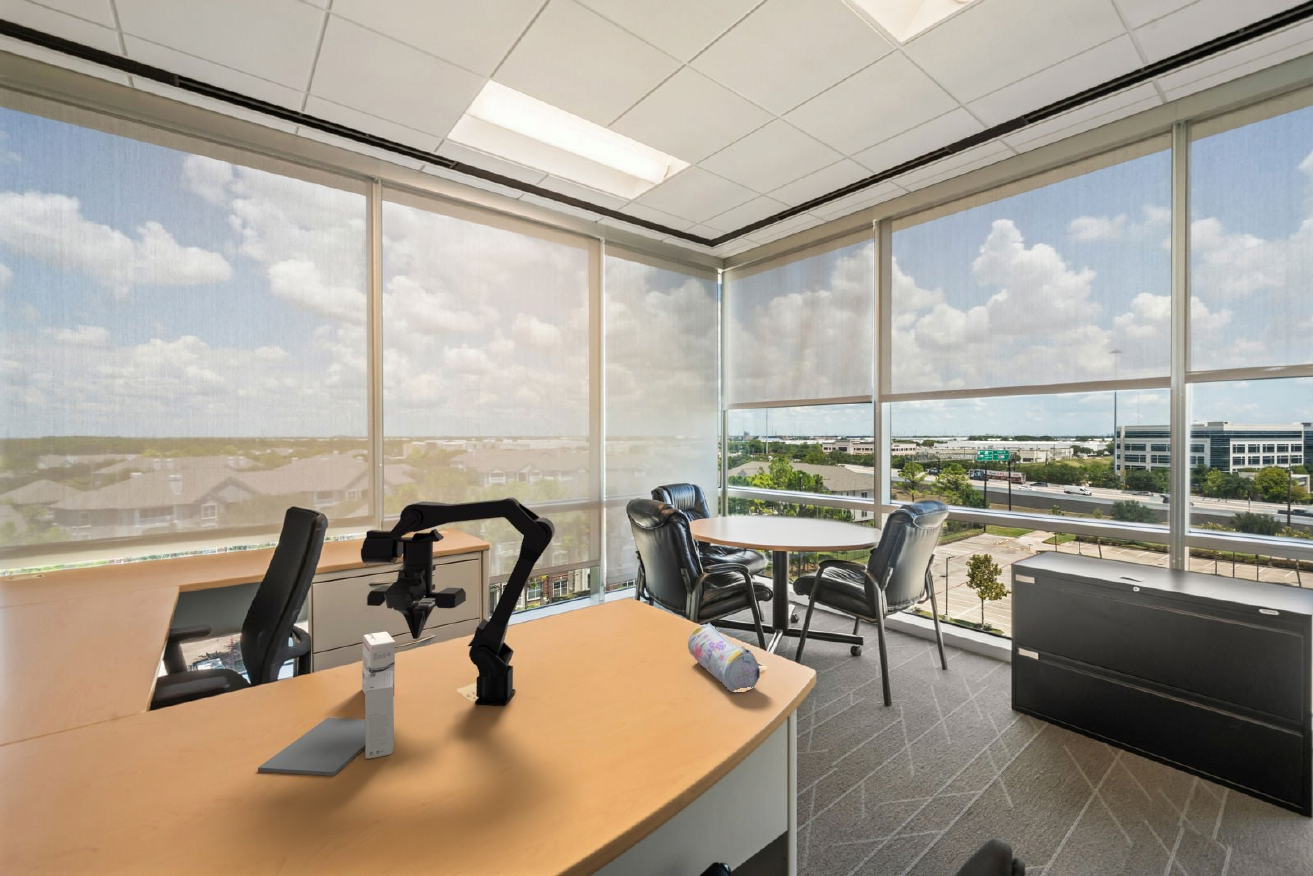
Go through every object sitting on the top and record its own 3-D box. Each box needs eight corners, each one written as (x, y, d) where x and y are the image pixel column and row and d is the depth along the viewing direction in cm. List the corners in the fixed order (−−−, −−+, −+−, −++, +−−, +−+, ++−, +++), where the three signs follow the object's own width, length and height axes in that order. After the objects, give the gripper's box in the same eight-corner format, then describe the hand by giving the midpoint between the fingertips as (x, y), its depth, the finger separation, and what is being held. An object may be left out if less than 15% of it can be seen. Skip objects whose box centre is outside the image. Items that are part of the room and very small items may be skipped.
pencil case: (762, 692, 114) (762, 648, 115) (727, 699, 111) (727, 654, 111) (716, 657, 134) (716, 620, 134) (685, 662, 131) (685, 624, 131)
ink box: (395, 697, 111) (396, 640, 111) (369, 704, 108) (370, 646, 108) (385, 683, 117) (387, 629, 118) (360, 689, 114) (362, 634, 115)
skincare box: (393, 754, 90) (395, 687, 89) (363, 761, 88) (364, 692, 87) (394, 732, 95) (395, 668, 94) (365, 738, 93) (367, 673, 92)
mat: (392, 724, 100) (392, 721, 100) (334, 776, 84) (334, 772, 84) (327, 720, 101) (327, 717, 101) (257, 771, 85) (257, 767, 85)
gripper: (349, 570, 102) (347, 651, 102) (442, 572, 101) (440, 655, 100) (383, 558, 113) (382, 631, 113) (467, 560, 112) (466, 634, 111)
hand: (416, 638), depth 109 cm, fingers closed
